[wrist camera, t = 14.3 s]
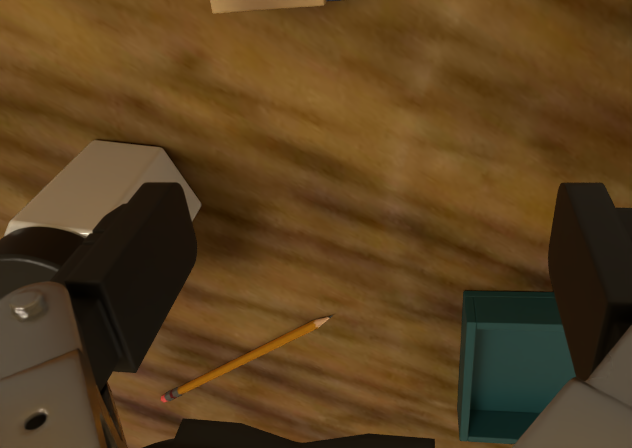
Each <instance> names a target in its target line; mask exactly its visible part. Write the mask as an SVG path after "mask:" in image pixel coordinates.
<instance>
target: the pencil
mask: <svg viewBox="0 0 632 448" xmlns="http://www.w3.org/2000/svg"><path fill="white" fill-rule="evenodd" d="M331 317H332V316H329V317H325V318H321V319H316V320H313V321H311V322H309V323H307V324H305V325H303V326H301V327H299V328H297V329H295V330H293V331H291V332H289V333H287V334H285V335H283V336H281V337H279V338H277V339H275V340H273V341H271V342H269V343H267V344H265V345H263V346H261V347H259V348H257V349H255V350H253V351H251V352H249V353H247V354H245V355H242V356H240V357H238V358H236V359H234V360H232V361H230V362H228V363H226V364H224V365H222V366H220V367H218V368H216V369H214V370H212V371H210V372H208V373H206V374H204V375H202V376H200V377H198V378H196V379H194V380H192V381H190V382H188V383H186V384H184V385H182V386H180V387H177V388H174V389H173V390H171V391H168V392H167V393H166V394H165V395H163V396H162V397H161V401H162V402H167V401H171V400H173V399H175V398H177V397H179V396H181V395H182V394H184V393H186V392H188V391H190V390H192V389H194V388H196V387H198V386H200V385H202V384H204V383H206V382H208V381H210V380H212V379H214V378H216V377H219V376H221V375H223V374H225V373H227V372H229V371H231V370H233V369H235V368H237V367H239V366H241V365H243V364H245V363H247V362H249V361H251V360H253V359H255V358H258V357H260V356H262V355H264V354H266V353H268V352H270V351H272V350H274V349H276V348H278V347H280V346H282V345H284V344H286V343H288V342H290V341H292V340H294V339H297V338H299V337H301V336H303V335H305V334H307V333H309V332H311V331H313V330H315V329H317V328H319V327H320V326H321V325H322V324H323V323H324V322H326V321H327V320H328V319H329V318H331Z"/></svg>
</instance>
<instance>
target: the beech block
mask: <svg viewBox="0 0 632 448" xmlns="http://www.w3.org/2000/svg"><path fill="white" fill-rule="evenodd" d="M326 1H327V0H210V3H211V8H212V13H228V12H242V11H256V10H270V9H284V8H297V7H311V6H323V5H324V4H325V3H326Z"/></svg>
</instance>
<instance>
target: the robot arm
mask: <svg viewBox="0 0 632 448" xmlns="http://www.w3.org/2000/svg"><path fill="white" fill-rule="evenodd" d="M82 243H83V244H82V245H79V247H78V248H77V249H76V250H75V251H74V252H73V254H72V255H71V256H70V257H69V258H68V260H67V261H66V262H65V263H64V264H63V266H62V267H61V268H60V269H59V270H58V271H57V273H56V274H55V275H54V276H53V277H52V279H51V280H50V281H45V282H37V283H32V284H29V285H26V286H23V287H21V288H18V289H16V290H14V291H12V292H11V293H9V294H8V295H6V296H5V297H3V298H2V299H1V300H0V448H128V447H127V444H126V440H125V437H124V433H123V430H122V426H121V423H120V419H119V416H118V412H117V409H116V405H115V402H114V398H113V395H112V391H111V389H110V387H109V384H108V382H107V381H108V379H109V377H110V375H111V374H112V372H113V371H115V372H130V373H136V372H137V370H138V368H139V366H140V364H141V362H142V361H143V359H144V357H145V355H146V353H147V351H148V350H149V348H150V346H151V344H152V342H153V340H154V339H155V337H156V335H157V333H158V331H159V329H160V327H161V326H162V324H163V322H164V320H165V318H166V316H167V315H168V313H169V311H170V309H171V307H172V305H173V304H174V302H175V300H176V298H177V296H178V294H179V292H180V291H181V289H182V287H183V285H184V283H185V281H186V280H187V278H188V276H189V274H190V272H191V270H192V268H193V267H194V264H195V261H196V256H197V240H196V236H195V232H194V228H193V224H192V220H191V216H190V213H189V209H188V205H187V201H186V197H185V193H184V190H183V188H182V186H181V185H180V184H179V183H177V182H146V183H143V184H142V185H141V187H140V188H139V189H138V190H137V191H136V193H135V194H134V195H133V196H132V198H131V199H130V200H129V201H128V203H127V204H122V205H120V206H119V207H117V208H116V209H114V210H113V211H111V212H110V213H108V214H107V215H105V216H104V217H103V218H102V219H101V220H100V222H99V223H98V224H97V225H96V226H95V228H94V229H93V230H92V233H90V234H89V235H88V236H87V237H86V238H85V239H84V241H83V242H82ZM548 266H549V275H550V279H551V283H552V287H553V291H554V295H555V298H556V302H557V306H558V310H559V314H560V317H561V321H562V325H563V329H564V333H565V337H566V340H567V344H568V348H569V352H570V356H571V359H572V363H573V367H574V371H575V375H576V377H575V378H572V379H571V380H569V381H568V382H567V383H566V384H565V385H564V386H563V388H562V389H561V390H560V391H559V392H558V393H557V395H556V396H555V397H554V398H553V399H552V401H551V402H550V403H549V404H548V405H547V407H546V408H545V409H544V410H543V411H542V412H541V414H540V415H539V416H538V417H537V418H536V420H535V421H534V422H533V423H532V424H531V425H530V427H529V428H528V429H527V430H526V431H525V433H524V434H523V435H522V436H521V437H520V439H519V440H518V441H517V442H516V443H515V444H514V446H513V447H512V448H632V208H615V206H614V204H613V202H612V200H611V198H610V196H609V194H608V192H607V189H606V187H605V186H604V184H603V183H561V184H560V186H559V189H558V193H557V199H556V206H555V212H554V218H553V225H552V231H551V237H550V244H549V253H548ZM143 448H435V439H429V438H417V437H404V436H392V435H380V434H363V435H356V436H349V437H342V438H335V439H328V440H321V441H314V442H307V443H299V442H295V441H291V440H289V439H286V438H283V437H280V436H277V435H274V434H271V433H268V432H265V431H262V430H259V429H256V428H254V427H251V426H248V425H245V424H242V423H232V422H220V421H208V420H196V419H183V420H182V422H181V424H180V427H179V429H178V431H177V434H176V436H175V438H174V439H169V440H165V441H161V442H157V443H154V444H151V445H148V446H146V447H143Z"/></svg>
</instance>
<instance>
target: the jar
mask: <svg viewBox="0 0 632 448" xmlns="http://www.w3.org/2000/svg"><path fill="white" fill-rule="evenodd" d="M146 182H177V183H179V184H180V185H181V186H182V188H183V190H184V193H185V197H186V201H187V205H188V209H189V213H190V216H191V220H192V221H193V219H194V218H195V216H196V214H197V212H198V211H199V209H200V207H201V202H200V201H199V199H198V198H197V196H196V195H195V194H194V192H193V191H192V189H191V188H190V187H189V185H188V184H187V182H186V181H185V179H184V178H183V177H182V175H181V174H180V172H179V171H178V169H177V168H176V167H175V165H174V164H173V162H172V161H171V159H170V158H169V156H168V155H167V153H166V152H165V151H164V149H163V148H161V147H154V146H145V145H136V144H126V143H117V142H108V141H99V140H93V141H92V142H90V143H89V144H88V145H87V146H86V147H85V148H84V149H83V150H82V151H81V152H80V153H79V154H78V155H77V156H76V157H75V158H74V159H73V160H72V161H71V162H70V163H69V164H68V165H67V166H66V167H65V168H64V169H63V170H62V171H61V172H60V173H59V174H58V175H57V176H56V177H55V178H54V179H53V180H52V181H51V182H50V183H48V184H47V185H46V186H45V187H44V188H43V189H42V190H41V191H40V192H39V193H38V194H37V195H36V196H35V197H34V198H33V199H32V200H31V201H30V202H29V203H28V204H27V205H26V206H25V207H24V208H23V209H22V210H21V211H20V212H19V213H18V214H17V215H16V216H15V217H14V218H13V219H12V220H11V221H10V222H9V224H8V227H7V229H6V232H5V235H4V237H3V238H2V239H1V240H0V300H1V299H2V298H3V297H5V296H6V295H8V294H9V293H11V292H12V291H14V290H16V289H18V288H21V287H23V286H26V285H29V284H32V283H37V282H45V281H50V280H51V279H52V277H53V276H54V275H55V274H56V273H57V271H58V270H59V269H60V268H61V267H62V266H63V264H64V263H65V262H66V261H67V260H68V258H69V257H70V256H71V255H72V254H73V252H74V251H75V250H76V249H77V248H78V247H79V245H82V244H83V243H82V242H83V241H84V239H85V238H86V237H87V236H88V235H89V234H90V233H92V230H93V229H94V228H95V226H96V225H97V224H98V223H99V222H100V220H101V219H102V218H103V217H104V216H105V215H107V214H108V213H110V212H111V211H113V210H114V209H116V208H117V207H119V206H120V205H122V204H127V203H128V201H129V200H130V199H131V198H132V196H133V195H134V194H135V193H136V191H137V190H138V189H139V188H140V187H141V185H142V184H143V183H146Z"/></svg>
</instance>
